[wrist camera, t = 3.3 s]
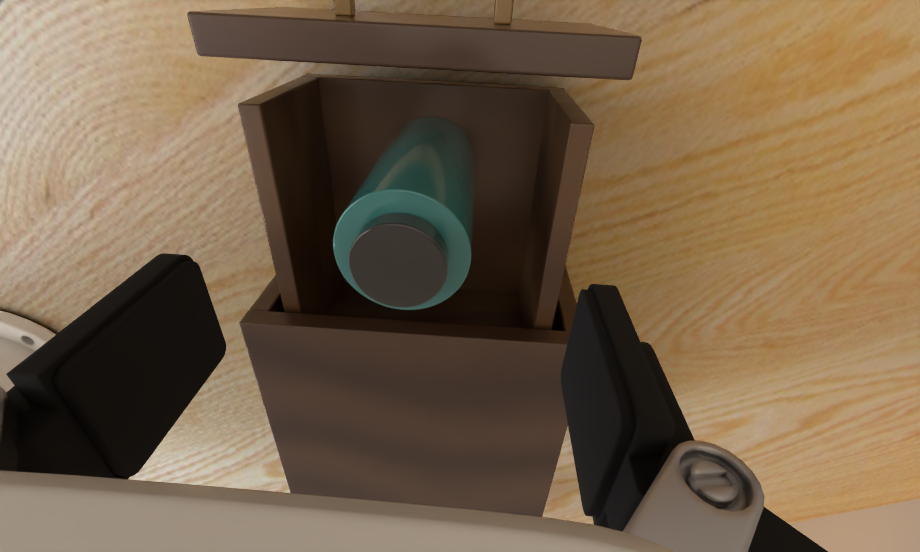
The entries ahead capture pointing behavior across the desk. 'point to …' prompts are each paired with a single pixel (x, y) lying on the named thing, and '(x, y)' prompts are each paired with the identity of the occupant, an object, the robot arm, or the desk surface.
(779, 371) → the desk surface
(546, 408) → the cabinet
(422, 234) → the bottle
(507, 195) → the drawer
